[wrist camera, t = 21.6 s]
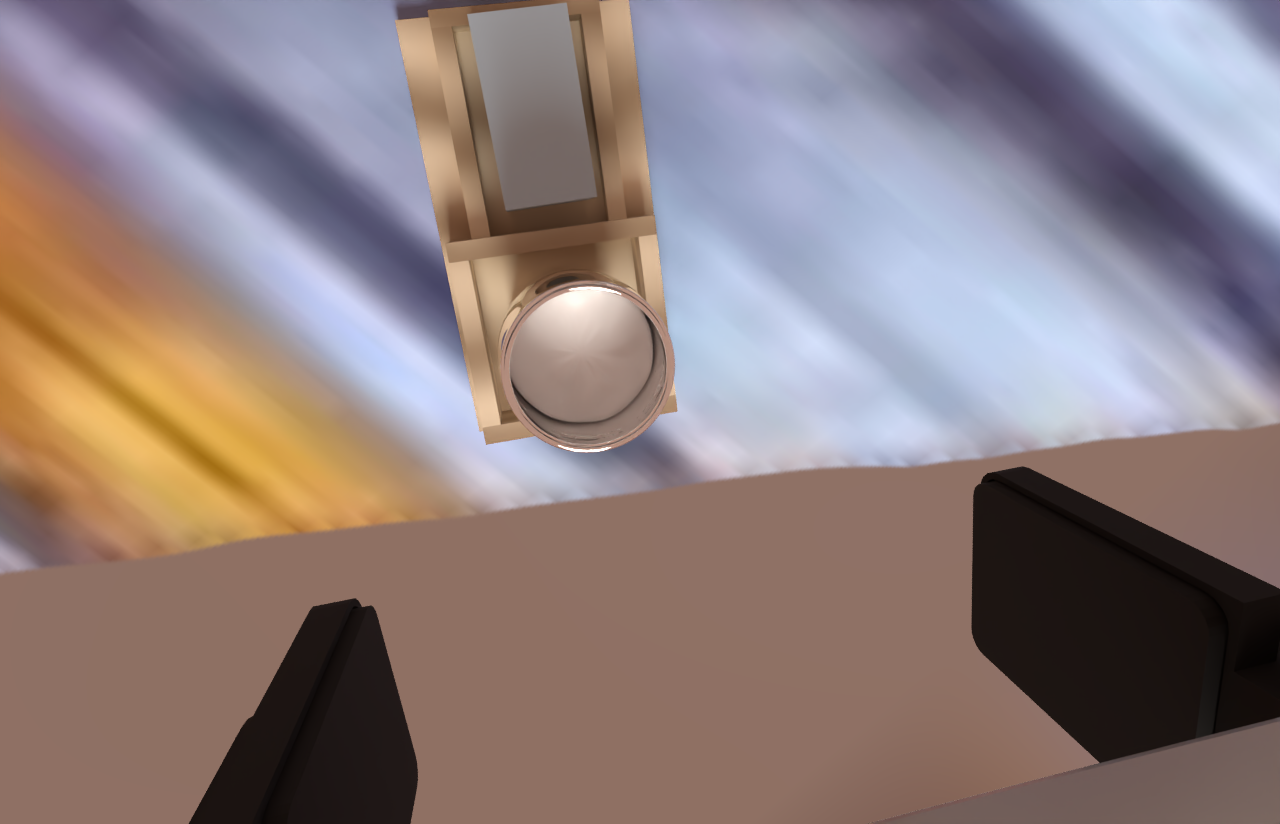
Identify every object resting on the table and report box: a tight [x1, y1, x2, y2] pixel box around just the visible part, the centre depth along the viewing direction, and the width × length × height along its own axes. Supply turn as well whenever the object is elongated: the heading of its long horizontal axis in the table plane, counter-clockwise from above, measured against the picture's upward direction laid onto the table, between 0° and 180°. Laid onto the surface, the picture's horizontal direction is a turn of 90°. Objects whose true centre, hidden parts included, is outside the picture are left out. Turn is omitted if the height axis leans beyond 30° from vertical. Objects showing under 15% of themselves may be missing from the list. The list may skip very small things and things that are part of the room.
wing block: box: [467, 3, 597, 212], centre depth 34 cm, size 8×4×5 cm, turn 9°
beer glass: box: [498, 268, 675, 453], centre depth 33 cm, size 7×7×15 cm
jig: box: [395, 0, 677, 445], centre depth 38 cm, size 22×12×4 cm, turn 7°
